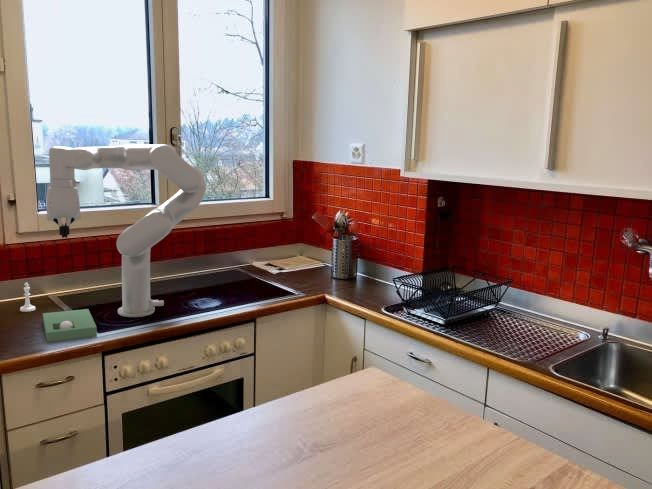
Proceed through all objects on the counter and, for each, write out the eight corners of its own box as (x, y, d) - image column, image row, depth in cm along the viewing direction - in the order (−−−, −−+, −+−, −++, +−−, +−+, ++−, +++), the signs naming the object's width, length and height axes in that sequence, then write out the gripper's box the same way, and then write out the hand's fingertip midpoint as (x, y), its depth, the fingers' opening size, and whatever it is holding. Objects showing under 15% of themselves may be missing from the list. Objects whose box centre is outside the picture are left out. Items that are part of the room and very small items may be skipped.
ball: (65, 334, 171) (61, 336, 174) (77, 328, 174) (73, 331, 176) (59, 322, 171) (55, 325, 174) (71, 317, 174) (67, 320, 176)
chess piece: (28, 312, 192) (27, 284, 190) (16, 310, 193) (15, 283, 191) (38, 308, 197) (37, 281, 195) (26, 306, 198) (25, 280, 196)
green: (88, 317, 190) (88, 308, 190) (96, 336, 173) (96, 327, 173) (43, 321, 183) (42, 313, 183) (47, 342, 166) (46, 332, 166)
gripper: (85, 182, 193) (86, 234, 196) (37, 182, 185) (39, 236, 189) (88, 184, 186) (89, 238, 190) (38, 184, 179) (40, 240, 182)
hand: (64, 237), depth 189 cm, fingers closed
